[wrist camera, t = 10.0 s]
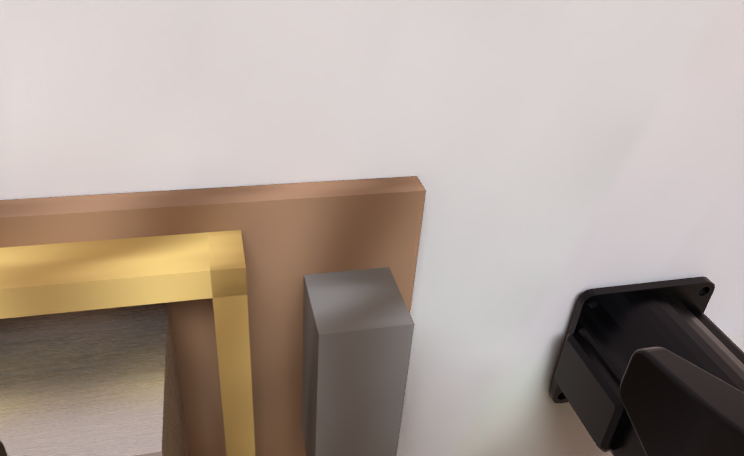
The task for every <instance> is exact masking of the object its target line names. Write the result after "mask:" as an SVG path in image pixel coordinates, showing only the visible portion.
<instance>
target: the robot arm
mask: <svg viewBox="0 0 744 456" xmlns="http://www.w3.org/2000/svg"><path fill="white" fill-rule="evenodd" d="M714 288H715V286H714V284H713V283H712V282H711V281H710V280H709V279H708V278H706V277H695V278H686V279H677V280H668V281H659V282H650V283H641V284H632V285H623V286H614V287H605V288H596V289H589V290H586V291H585V292H583V293H582V294H581V295H580V296H579V298H578V300H577V304H576V307H575V310H574V313H573V316H572V320H571V323H570V326H569V329H568V332H567V336H566V339H565V342H564V345H563V348H562V351H561V355H560V358H559V361H558V364H557V367H556V371H555V374H554V377H553V380H552V383H551V387H550V390H549V394H550V396H551V398H552V399H553V401H554V402H555V403H565V402H569V403H570V404H571V406H572V407H573V409H574V411H575V412H576V414H577V415H578V417H579V418H580V420H581V421H582V423H583V424H584V426H585V428H586V429H587V431H588V432H589V434H590V435H591V437H592V438H593V440H594V441H595V443H596V445H597V446H598V447H599V448H600V449H601V450H602V451H604V452H607V451H611V453H612V454H613V456H744V352H743V351H742V350H741V349H740V348H739V347H738V346H736V345H735V344H734V343H733V342H732V341H731V340H730V339H729V338H728V337H727V336H726V335H725V334H724V333H723V332H722V331H721V330H720V329H719V328H718V327H717V326H716V325H715V324H714V323H713V322H712V321H711V320H710V319H709V318H708V317H707V316H706V315H705V314H704V311H705V309H706V306H707V304H708V302H709V300H710V298H711V296H712V293H713V291H714ZM0 456H8V455H7V452H6V450H5V447H4V445H3V443H2V442H1V441H0Z"/></svg>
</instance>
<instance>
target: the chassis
mask: <svg viewBox="0 0 744 456" xmlns="http://www.w3.org/2000/svg"><path fill="white" fill-rule="evenodd" d="M425 194H426V190H425V188H424V187H423V185H422V184H421V182H420V180H419V179H418V177H417V176H411V177H394V178H377V179H359V180H342V181H325V182H308V183H290V184H273V185H256V186H239V187H221V188H204V189H187V190H170V191H152V192H135V193H118V194H101V195H83V196H66V197H49V198H32V199H14V200H0V319H4V318H15V317H25V316H35V315H45V314H55V313H65V312H76V311H86V310H96V309H106V308H116V307H126V306H137V305H147V304H157V303H167V302H168V306H169V313H170V320H171V327H172V334H173V340H174V347H175V354H176V361H177V368H178V375H179V381H180V388H181V395H182V402H183V409H184V416H185V423H186V429H187V436H188V456H396V453H397V446H398V439H399V431H400V424H401V417H402V409H403V402H404V395H405V388H406V380H407V373H408V366H409V358H410V351H411V344H412V336H413V329H414V322H413V320H412V318H411V315H410V309H411V301H412V294H413V286H414V278H415V270H416V263H417V255H418V247H419V240H420V232H421V224H422V217H423V209H424V201H425Z"/></svg>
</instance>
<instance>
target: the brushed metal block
mask: <svg viewBox="0 0 744 456" xmlns="http://www.w3.org/2000/svg"><path fill="white" fill-rule="evenodd" d="M0 441H1V442H2V443H3V445H4V447H5V450H6V452H7V455H8V456H188V436H187V429H186V423H185V416H184V409H183V402H182V395H181V388H180V381H179V375H178V368H177V361H176V354H175V347H174V340H173V334H172V327H171V320H170V313H169V306H168V302H167V303H157V304H147V305H137V306H126V307H116V308H106V309H96V310H86V311H76V312H65V313H55V314H45V315H35V316H25V317H15V318H4V319H0Z"/></svg>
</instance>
